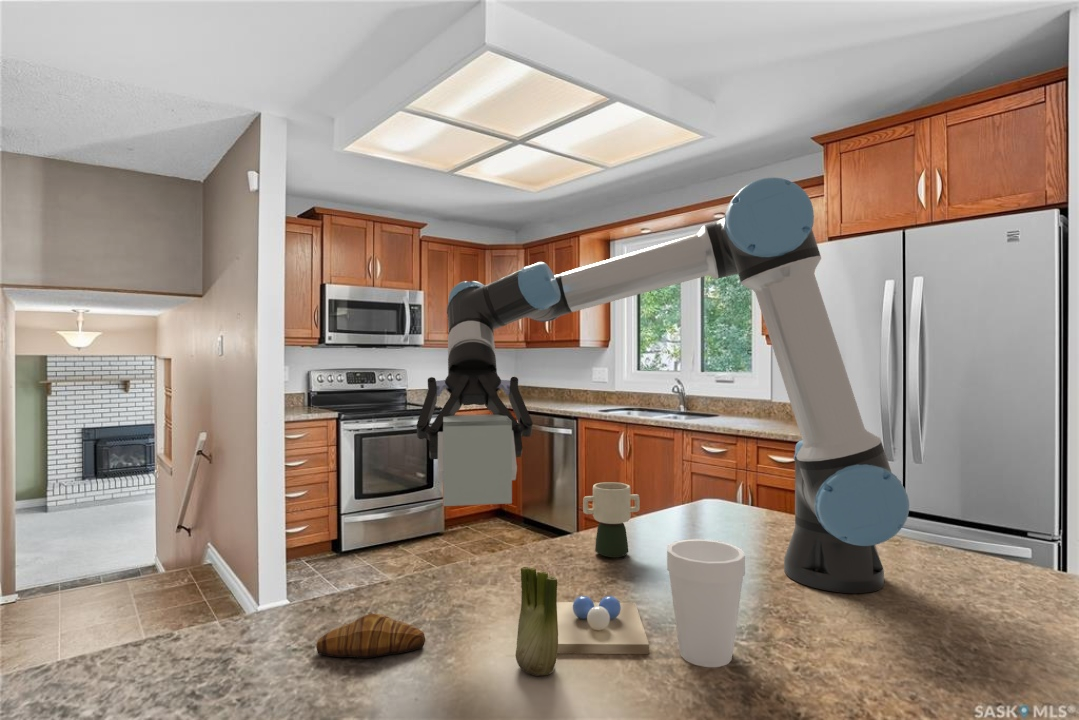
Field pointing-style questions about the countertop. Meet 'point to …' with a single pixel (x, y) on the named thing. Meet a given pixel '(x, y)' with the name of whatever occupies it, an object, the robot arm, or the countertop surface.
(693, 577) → the foam cup
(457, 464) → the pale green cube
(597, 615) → the marble white
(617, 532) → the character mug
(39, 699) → the countertop surface
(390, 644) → the croissant
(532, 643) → the fennel bulb
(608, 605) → the blue marble
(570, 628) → the board
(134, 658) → the countertop surface
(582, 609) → the blue marble
